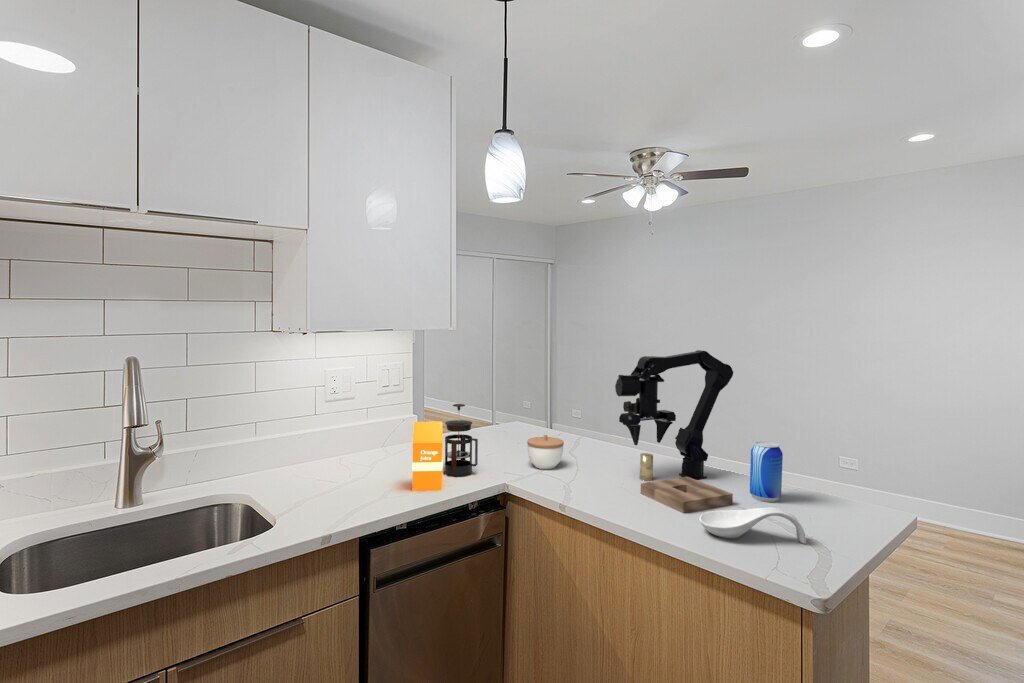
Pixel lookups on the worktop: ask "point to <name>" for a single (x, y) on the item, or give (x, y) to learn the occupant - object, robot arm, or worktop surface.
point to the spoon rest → (744, 521)
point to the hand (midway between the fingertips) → (647, 443)
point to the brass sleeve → (646, 466)
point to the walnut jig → (686, 494)
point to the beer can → (766, 471)
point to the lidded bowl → (545, 451)
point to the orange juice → (427, 456)
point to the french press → (460, 466)
